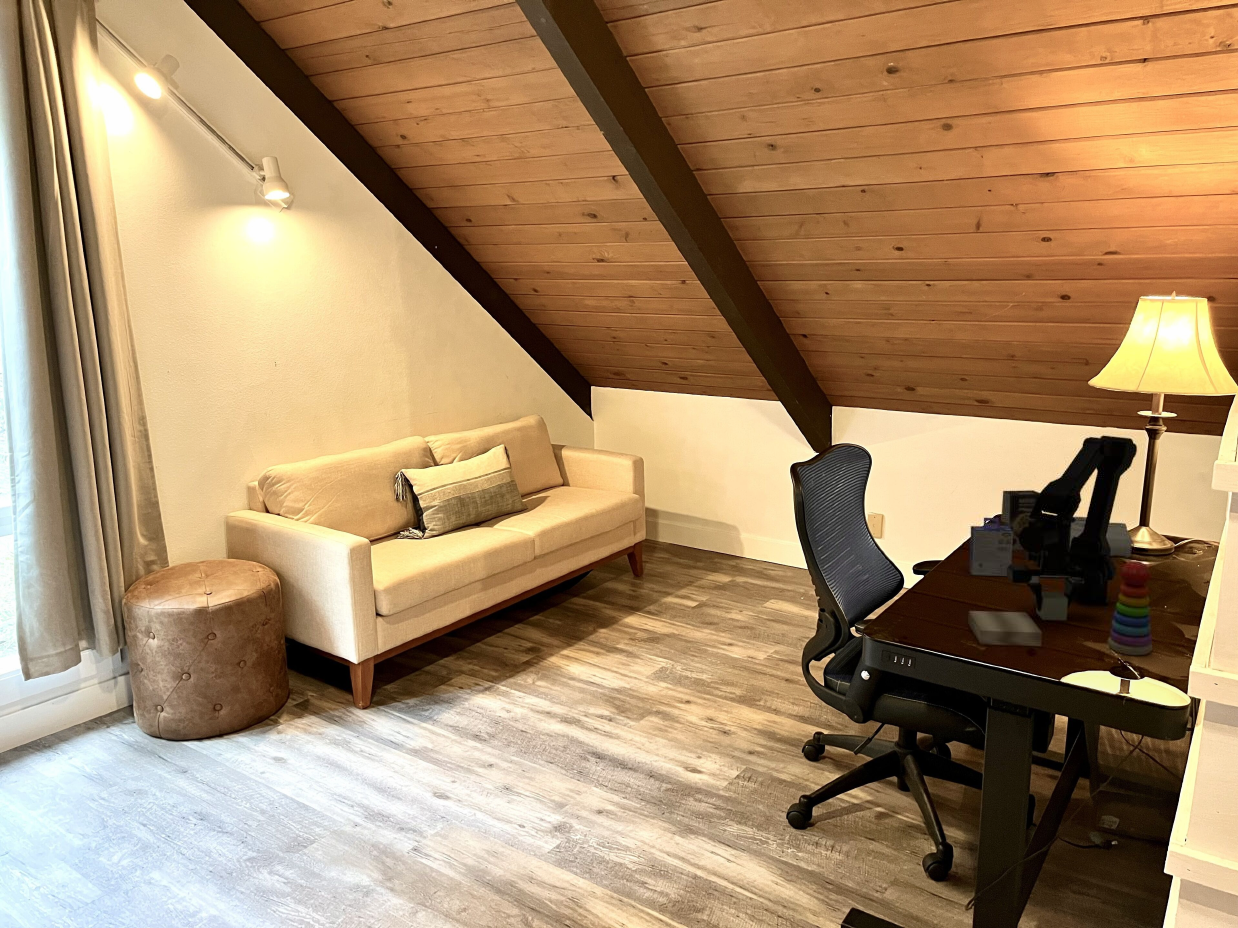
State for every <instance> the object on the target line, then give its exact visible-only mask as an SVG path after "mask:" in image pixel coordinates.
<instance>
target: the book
mask: <svg viewBox="0 0 1238 928" xmlns="http://www.w3.org/2000/svg"><path fill="white" fill-rule="evenodd" d="M1073 517H1074V518H1075V522H1073V523H1071V535H1070V546H1071V540H1072V539H1073V537H1078V536H1079V535H1080V534H1081V533H1082V532H1083V530H1084V526H1085V522H1086V517H1087V516H1073ZM1106 538H1107V541H1108V543H1109V546H1110V548H1111V552H1110V557H1123V558H1128V559H1129V558H1130V557H1131V554H1132V547H1134V545H1135V543H1134V542H1133V538H1132V535H1131V534H1130V533H1129V531H1128V527H1127V524H1126V523H1123V522H1109V526H1108V530H1107V534H1106ZM1132 545H1133V546H1132Z"/></svg>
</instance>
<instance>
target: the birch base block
mask: <svg viewBox="0 0 1238 928" xmlns="http://www.w3.org/2000/svg"><path fill="white" fill-rule="evenodd" d="M968 625H969V627H970V629H971V630H972V632H973V634H974V636H975V637H976V639H977V641H978V642H979V644H980V645H990V646H992V645H993V646H994V645H995V646H1020V647H1021V646H1022V647H1023V646H1024V647H1025V646H1026V647H1042V638H1043V632H1042V630H1041V629H1040V628H1039V627H1038V626H1037V624H1036V623H1035V622H1034V620H1033V619H1032V618H1031V617H1030V615H1029V614H1028V613H1027V612H1018V611H983V610H982V611H981V610H980V611H979V610H968Z"/></svg>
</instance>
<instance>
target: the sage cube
mask: <svg viewBox="0 0 1238 928" xmlns="http://www.w3.org/2000/svg"><path fill="white" fill-rule="evenodd" d="M1067 604H1068V599H1067V598H1066V597H1065V595H1064V592H1062V591H1048V590H1047V591H1045V590H1044V591H1043V590H1042V602H1041V610H1040V611H1038V610H1037V607H1036V606H1035V607H1036V611H1035V612H1036V613H1037V615H1038V616H1039V618H1040V619H1041V620H1042V621H1067V618H1068V617H1067V615H1068V609H1067Z"/></svg>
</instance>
